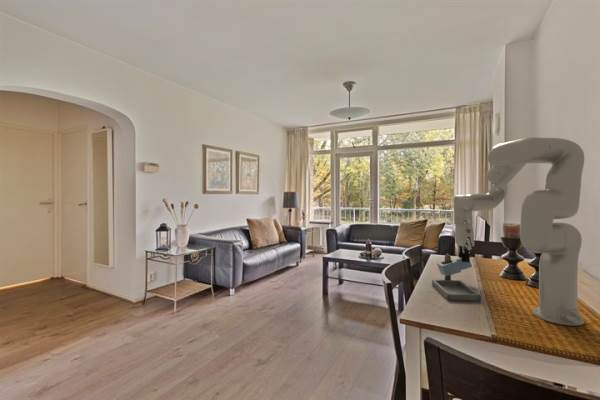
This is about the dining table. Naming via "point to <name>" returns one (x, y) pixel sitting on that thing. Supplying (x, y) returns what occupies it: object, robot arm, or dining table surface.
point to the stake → (447, 260)
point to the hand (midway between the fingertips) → (464, 260)
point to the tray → (456, 290)
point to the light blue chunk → (453, 266)
